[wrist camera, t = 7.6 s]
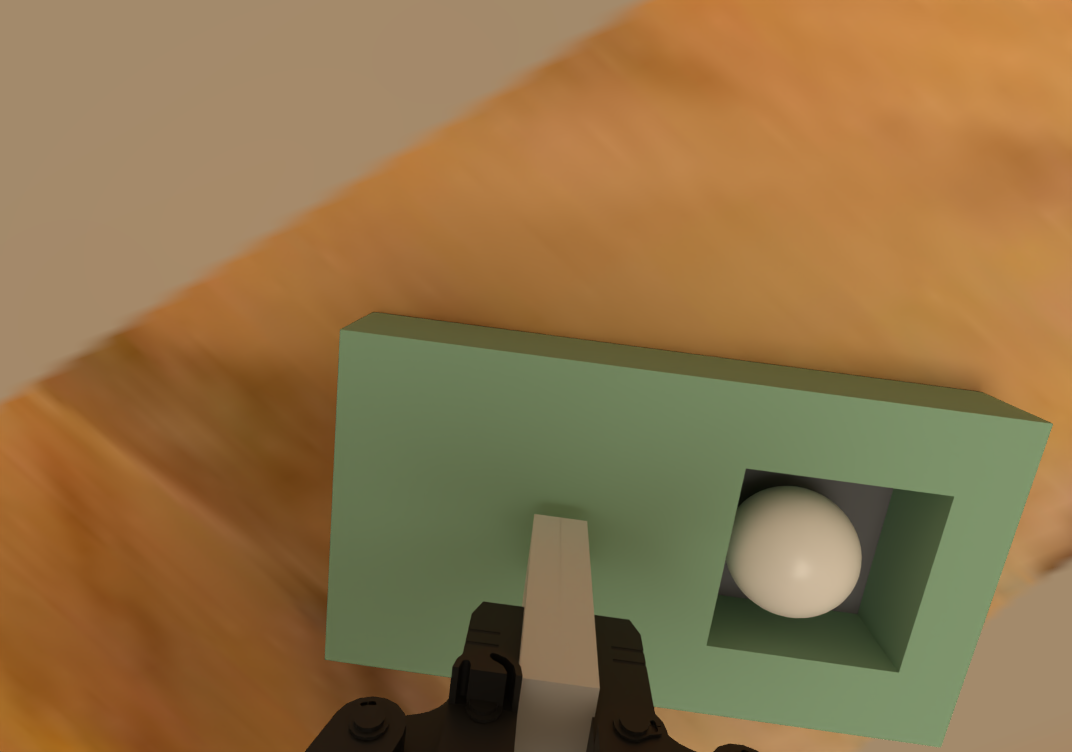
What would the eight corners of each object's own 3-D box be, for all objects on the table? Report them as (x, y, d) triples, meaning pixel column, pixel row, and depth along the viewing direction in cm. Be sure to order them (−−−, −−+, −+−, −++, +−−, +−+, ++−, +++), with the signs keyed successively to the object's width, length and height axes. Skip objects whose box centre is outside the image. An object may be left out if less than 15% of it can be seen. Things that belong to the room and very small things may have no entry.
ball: (752, 558, 24) (689, 593, 21) (776, 457, 22) (713, 479, 20) (863, 617, 21) (807, 665, 18) (897, 505, 20) (843, 538, 17)
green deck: (356, 601, 24) (324, 659, 21) (373, 311, 21) (340, 329, 18) (892, 677, 24) (940, 747, 21) (981, 392, 21) (1053, 423, 18)
